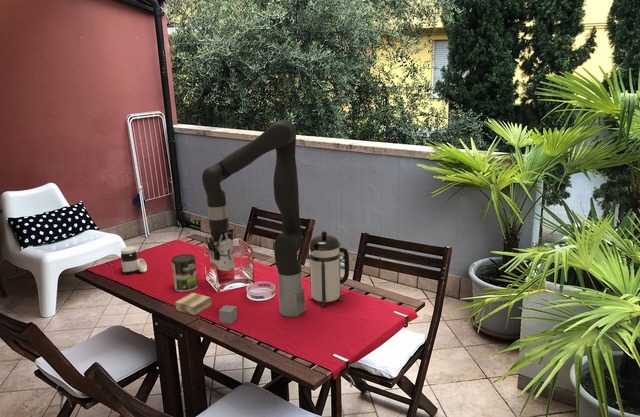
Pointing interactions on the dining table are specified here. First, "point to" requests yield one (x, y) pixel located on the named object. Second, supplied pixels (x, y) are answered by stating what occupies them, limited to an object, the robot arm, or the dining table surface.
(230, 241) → the ink box
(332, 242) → the coffee press
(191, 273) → the coffee can
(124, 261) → the spread jar
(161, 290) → the dining table surface
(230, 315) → the slate cube
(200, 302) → the beech block
